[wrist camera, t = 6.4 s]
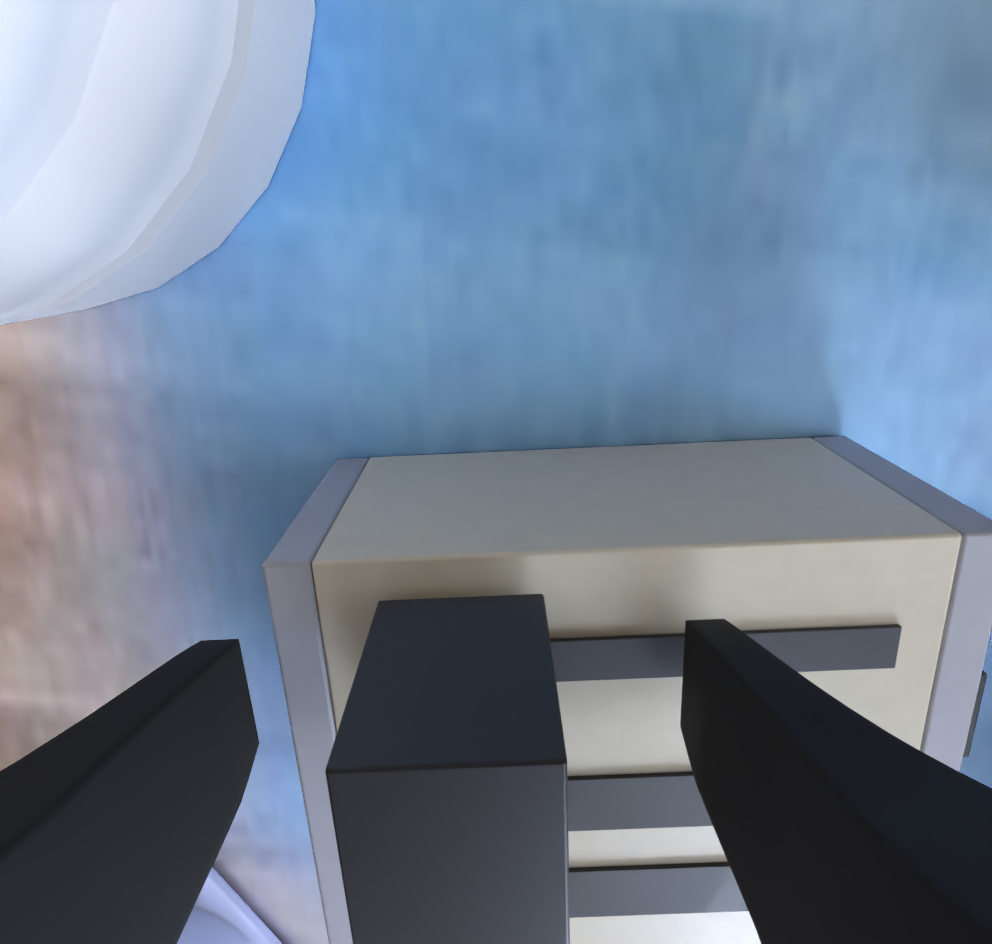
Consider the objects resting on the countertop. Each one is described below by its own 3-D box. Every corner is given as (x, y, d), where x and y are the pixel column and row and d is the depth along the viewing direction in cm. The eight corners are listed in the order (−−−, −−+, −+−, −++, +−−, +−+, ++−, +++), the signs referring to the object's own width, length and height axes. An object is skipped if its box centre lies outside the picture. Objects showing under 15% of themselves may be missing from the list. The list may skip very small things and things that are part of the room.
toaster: (374, 763, 19) (329, 966, 14) (335, 458, 16) (258, 567, 11) (841, 744, 19) (977, 942, 14) (887, 433, 16) (1085, 531, 11)
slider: (395, 753, 12) (355, 968, 8) (377, 599, 11) (322, 770, 7) (548, 747, 12) (570, 960, 8) (544, 592, 11) (567, 761, 7)
